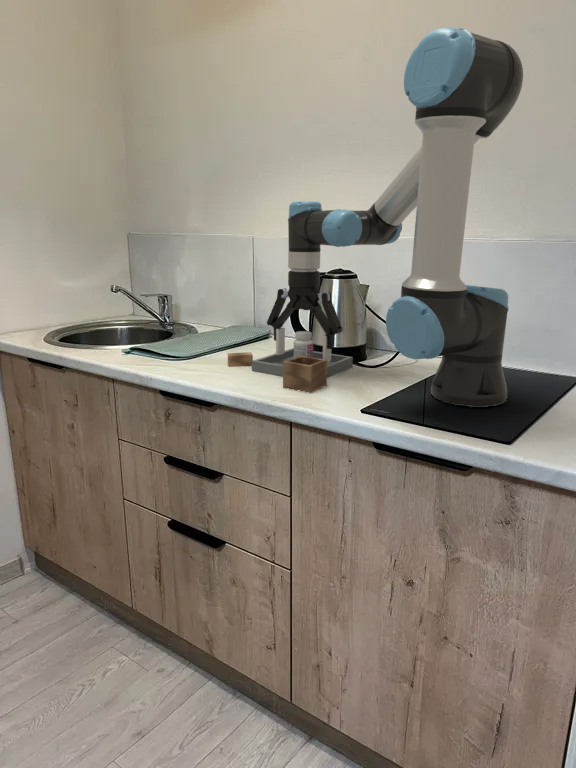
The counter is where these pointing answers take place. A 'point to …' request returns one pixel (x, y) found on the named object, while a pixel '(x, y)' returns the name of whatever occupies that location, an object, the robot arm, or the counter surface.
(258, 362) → the tray
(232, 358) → the stained block
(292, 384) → the walnut box
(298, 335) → the pill bottle
